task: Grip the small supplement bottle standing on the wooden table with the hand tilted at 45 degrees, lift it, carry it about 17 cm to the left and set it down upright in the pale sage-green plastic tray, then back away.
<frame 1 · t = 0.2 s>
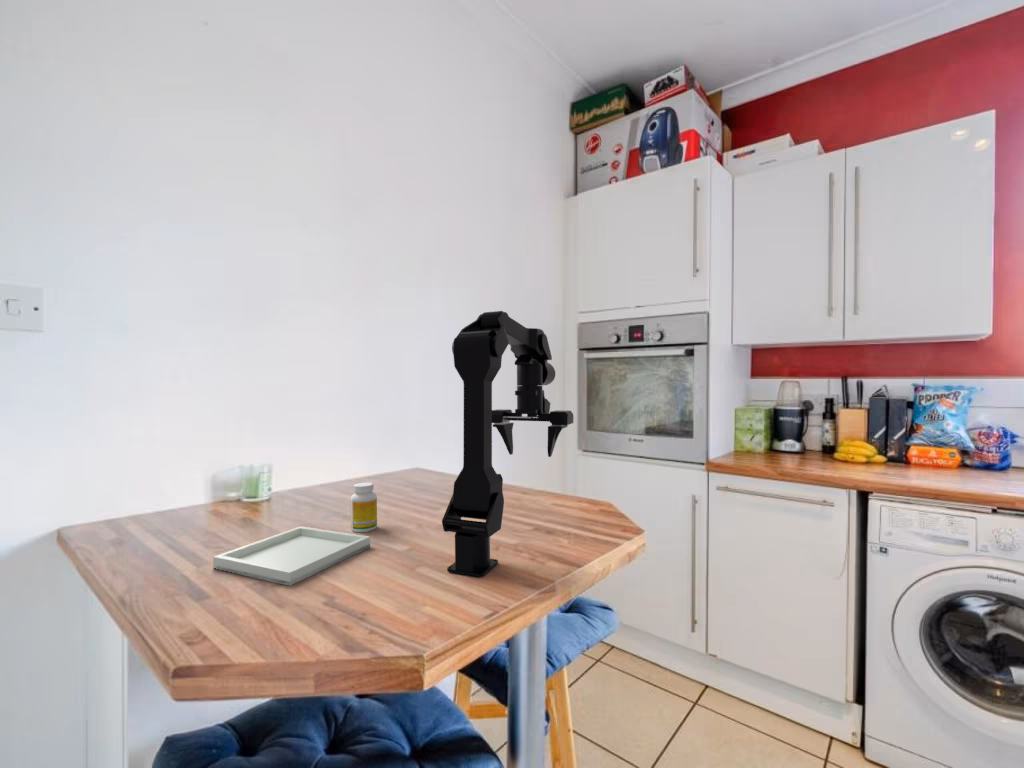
hand: (530, 455, 102), 15 cm above the counter, tool pointing down, fingers open, 9 cm apart
tray: (296, 557, 82), on the counter
supplement bottle: (364, 529, 98), on the counter
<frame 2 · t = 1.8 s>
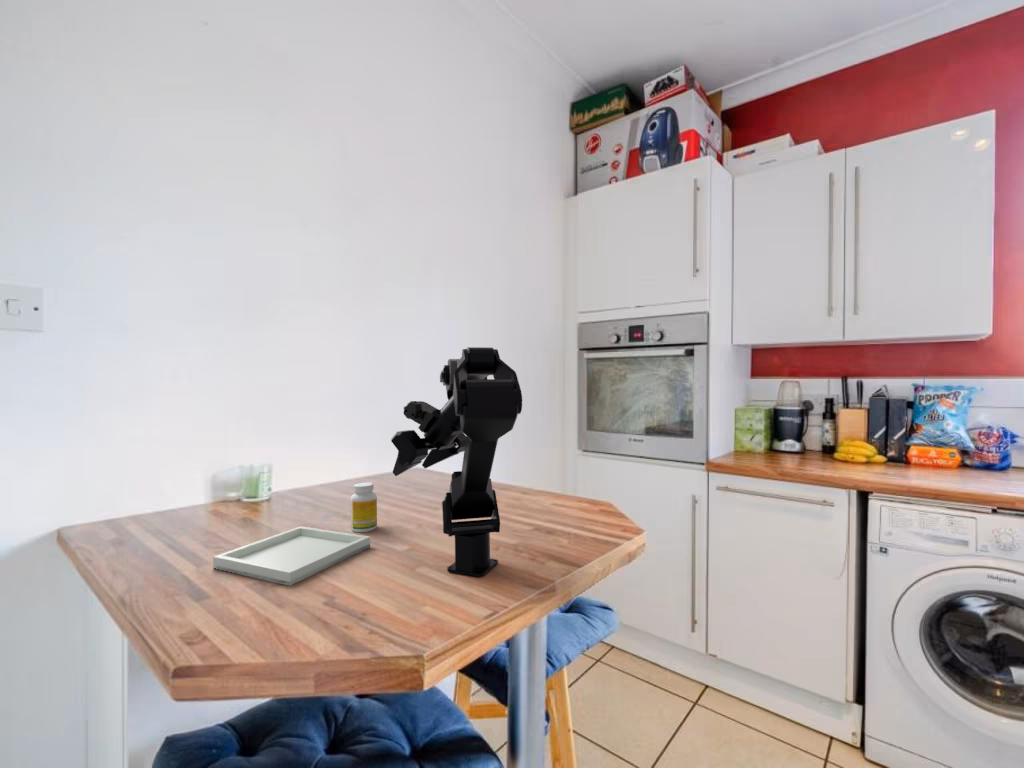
hand: (409, 470, 92), 13 cm above the counter, tool tilted 45°, fingers open, 9 cm apart
nothing on the counter moved.
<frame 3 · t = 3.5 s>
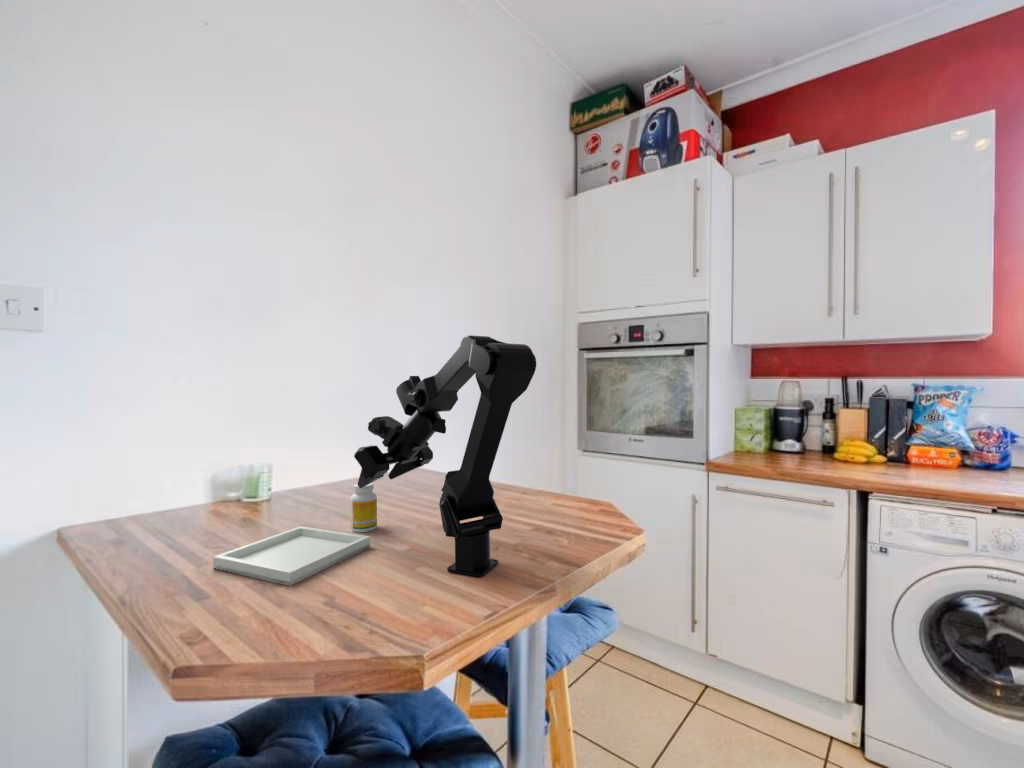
hand: (375, 481, 96), 10 cm above the counter, tool tilted 45°, fingers open, 9 cm apart
nothing on the counter moved.
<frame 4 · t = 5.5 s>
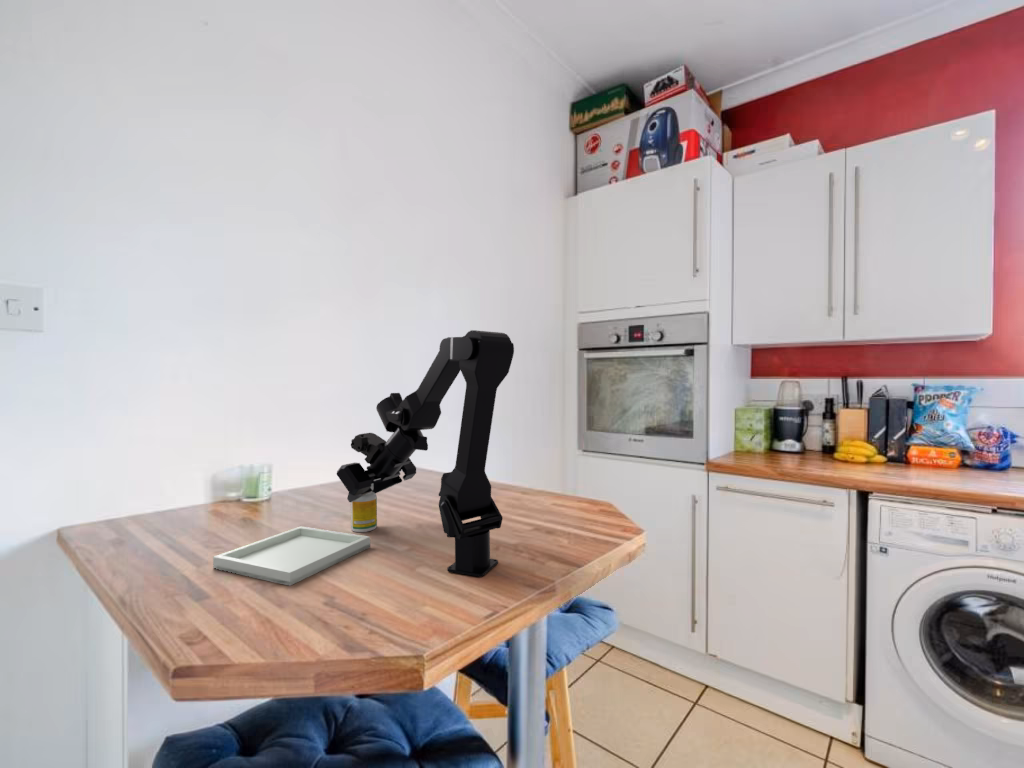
hand: (358, 497, 98), 7 cm above the counter, tool tilted 45°, fingers closed on supplement bottle, 5 cm apart
supplement bottle: (364, 529, 98), on the counter, touching gripper
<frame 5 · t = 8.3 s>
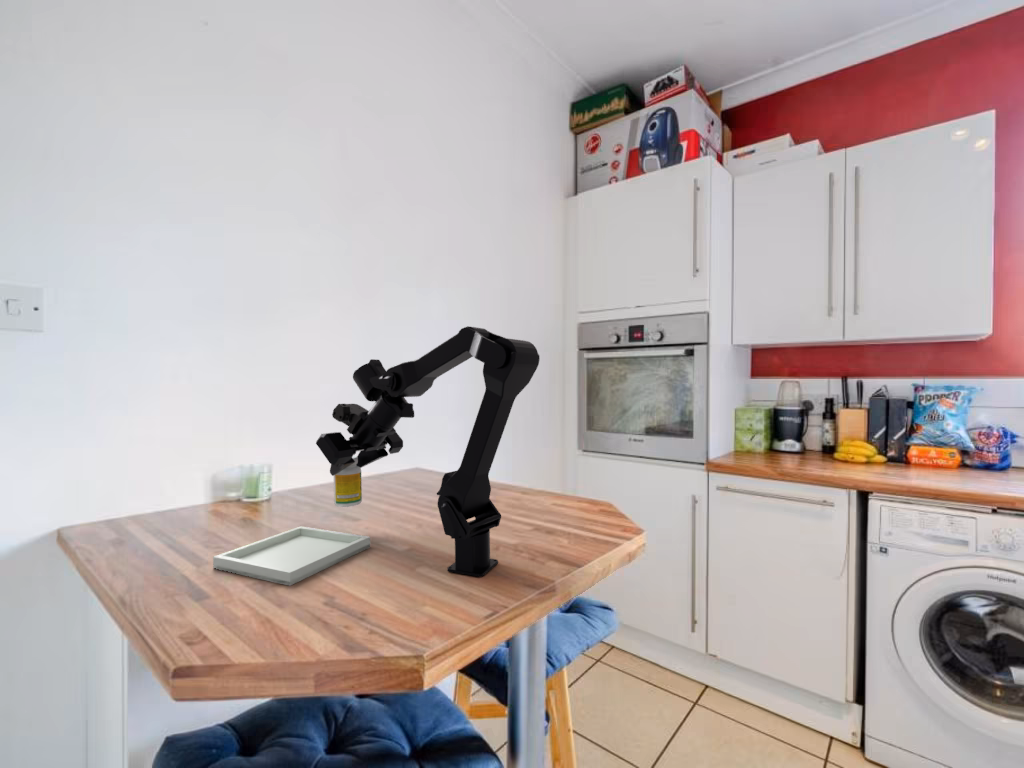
hand: (342, 471, 94), 13 cm above the counter, tool tilted 45°, fingers closed on supplement bottle, 5 cm apart
supplement bottle: (348, 505, 93), point 6 cm above the counter, touching gripper
when the fingers open (9 cm above the counter, at t = 11.5 s): supplement bottle drops 1 cm, resting on tray.
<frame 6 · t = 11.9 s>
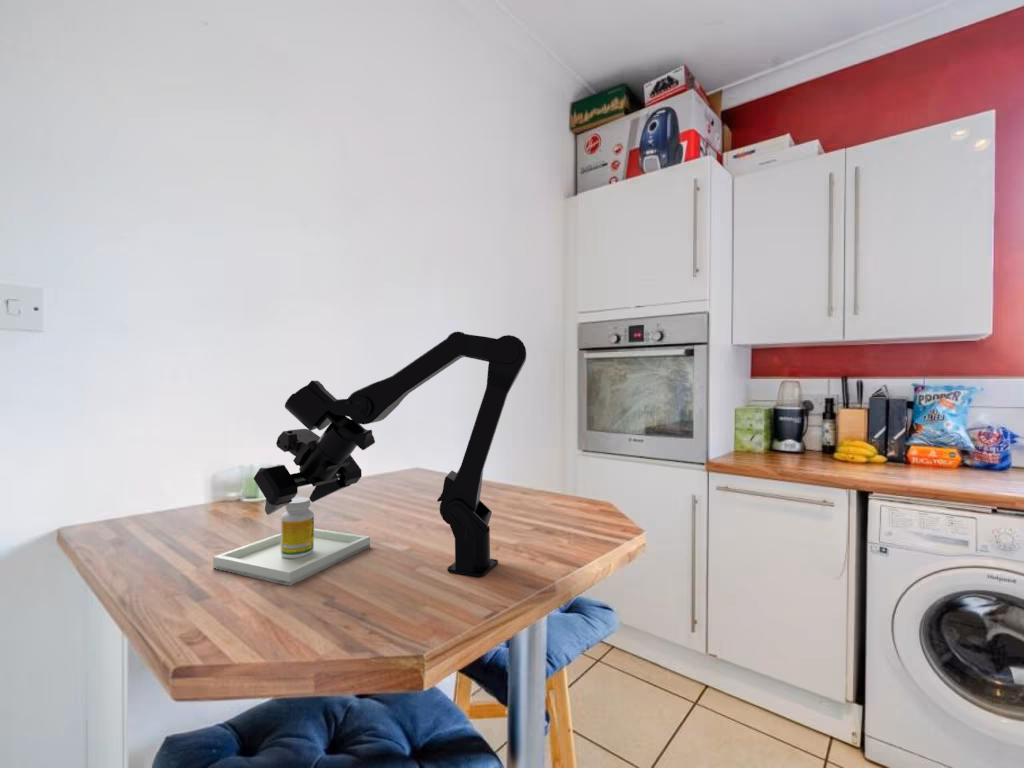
hand: (290, 506, 82), 9 cm above the counter, tool tilted 45°, fingers open, 9 cm apart
supplement bottle: (297, 554, 82), resting on tray
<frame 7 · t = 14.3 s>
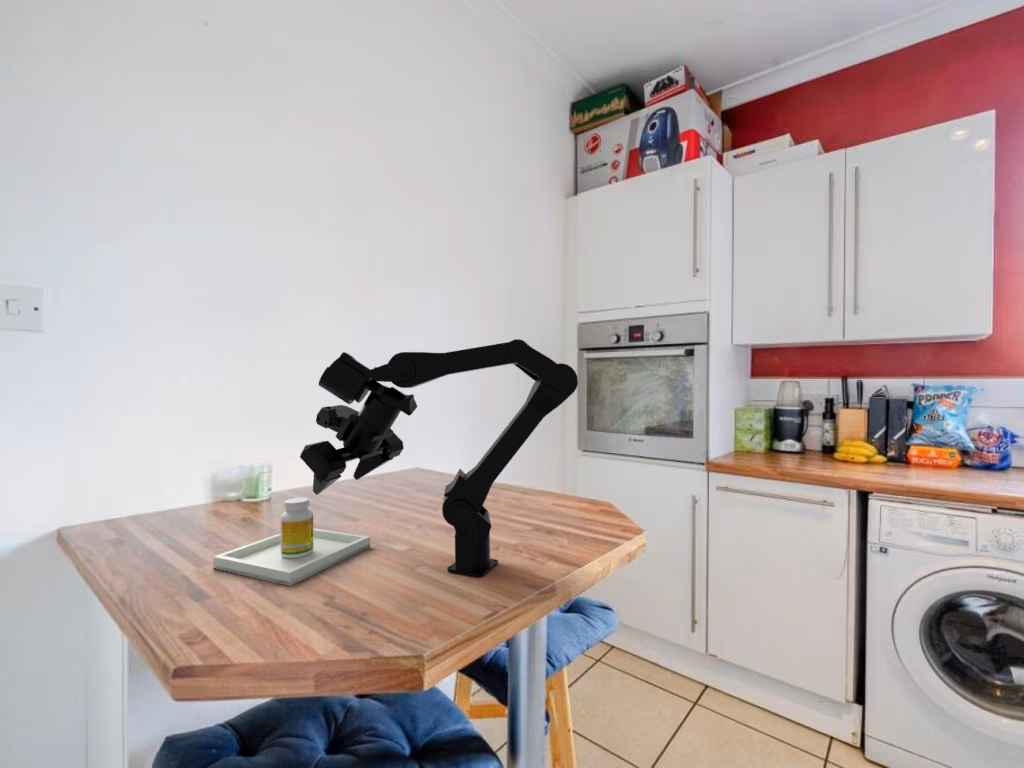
hand: (336, 485, 80), 13 cm above the counter, tool tilted 40°, fingers open, 9 cm apart
nothing on the counter moved.
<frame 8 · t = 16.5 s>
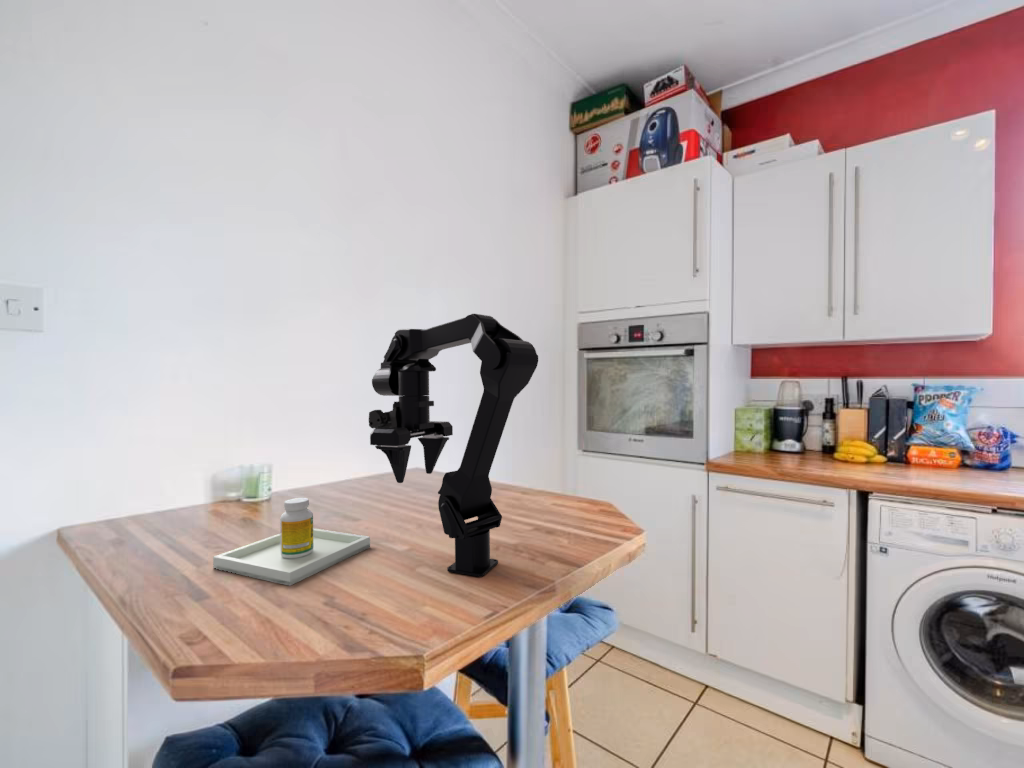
hand: (415, 477, 86), 13 cm above the counter, tool pointing down, fingers open, 9 cm apart
nothing on the counter moved.
at the end: supplement bottle inside the target area on the tray (0.2 cm from its centre), point 0.4 cm above the tray's base; supplement bottle tilted 1°; the gripper is holding nothing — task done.
